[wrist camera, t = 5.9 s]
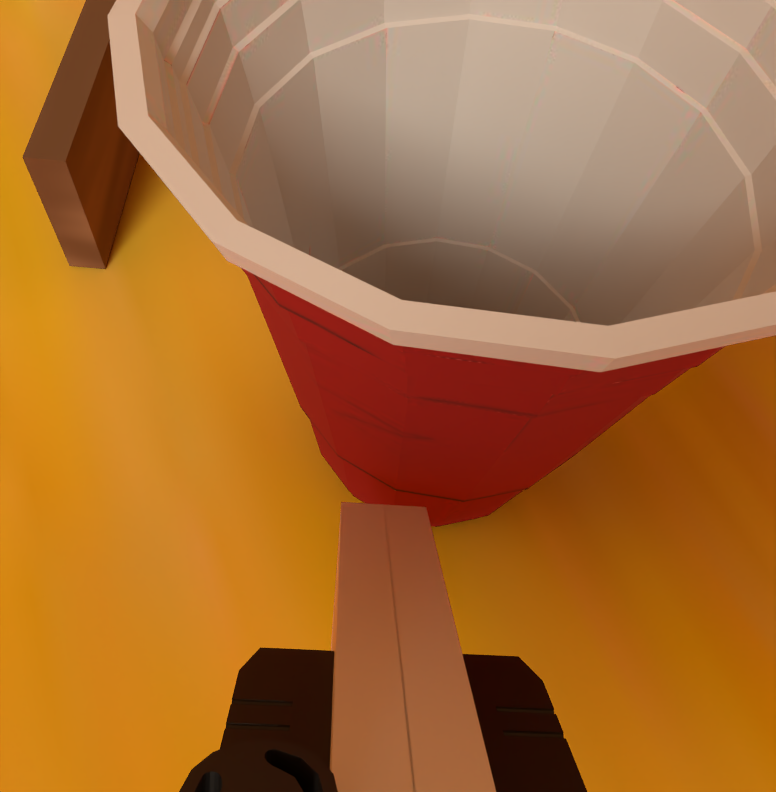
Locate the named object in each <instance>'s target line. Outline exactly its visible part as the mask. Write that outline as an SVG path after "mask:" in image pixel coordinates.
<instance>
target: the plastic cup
mask: <svg viewBox="0 0 776 792" xmlns="http://www.w3.org/2000/svg"><path fill="white" fill-rule="evenodd" d="M108 27H109V37H110V47H111V58H112V68H113V78H114V89H115V99H116V110H117V120H118V127H119V128H120V129H121V130H122V131H123V133H124V134H125V135H126V136H127V138H128V139H129V140H130V141H131V143H132V144H133V145H134V146H135V148H136V149H137V150H138V151H139V152H140V154H141V155H142V156H143V157H144V159H145V160H146V161H147V162H148V164H149V165H150V166H151V167H152V168H153V170H154V171H155V172H156V173H157V175H158V176H159V177H160V178H161V180H162V181H163V182H164V183H165V185H166V186H167V187H168V188H169V189H170V191H171V192H172V193H173V194H174V196H175V197H176V198H177V199H178V201H179V202H180V203H181V204H182V206H183V207H184V208H185V209H186V210H187V212H188V213H189V214H190V215H191V217H192V218H193V219H194V220H195V222H196V223H197V224H198V225H199V226H200V228H201V229H202V230H203V231H204V233H205V234H206V235H207V236H208V238H209V239H210V240H211V241H212V243H213V244H214V245H215V246H216V247H217V249H218V250H219V251H220V252H221V254H222V255H223V256H224V257H225V259H226V260H227V261H229V262H231V263H233V264H235V265H237V266H239V267H241V268H242V270H243V271H244V272H245V273H246V275H247V276H248V278H249V281H250V283H251V286H252V288H253V291H254V293H255V295H256V298H257V300H258V303H259V305H260V308H261V310H262V313H263V315H264V318H265V320H266V323H267V325H268V328H269V330H270V332H271V335H272V337H273V340H274V342H275V345H276V347H277V350H278V352H279V355H280V357H281V360H282V362H283V365H284V367H285V369H286V372H287V374H288V377H289V379H290V382H291V384H292V387H293V389H294V392H295V394H296V397H297V399H298V401H299V404H300V406H301V408H302V410H303V411H304V412H305V414H306V415H307V416H308V417H309V419H310V421H311V424H312V427H313V430H314V433H315V436H316V439H317V442H318V445H319V448H320V451H321V454H322V456H323V457H324V458H325V460H326V461H327V462H328V464H329V465H330V466H331V468H332V469H333V470H334V472H335V473H336V474H337V476H338V477H339V478H340V480H341V481H342V482H343V484H344V485H345V486H346V488H347V489H348V490H349V491H350V492H351V493H352V494H353V496H354V497H356V498H358V499H359V500H361V501H363V502H364V503H366V504H383V505H399V506H417V507H426V509H427V513H428V517H429V521H430V525H431V526H435V527H437V526H442V525H447V524H452V523H457V522H461V521H466V520H471V519H476V518H479V517H483V516H488V515H489V514H491V513H492V512H494V511H495V510H496V509H498V508H499V507H501V506H502V505H503V504H505V503H506V502H508V501H509V500H510V499H512V498H513V497H515V496H516V495H517V494H519V493H520V492H522V491H523V490H526V489H528V488H529V487H531V486H532V485H534V484H535V483H536V482H538V481H539V480H541V479H542V478H543V477H545V476H546V475H548V474H549V473H550V472H552V471H553V470H555V469H556V468H557V467H559V466H560V465H562V464H563V463H564V462H566V461H567V460H569V459H570V458H571V457H573V456H574V455H575V454H577V453H578V452H579V451H581V450H582V449H583V448H584V447H586V446H587V445H588V444H589V443H591V442H592V441H593V440H594V439H596V438H597V437H598V436H600V435H601V434H602V433H603V432H605V431H606V430H607V429H608V428H610V427H611V426H612V425H613V424H615V423H616V422H617V421H619V420H620V419H621V418H622V417H624V416H625V415H626V414H627V413H629V412H630V411H631V410H632V409H634V408H635V407H636V406H638V405H639V404H640V403H641V402H643V401H644V400H645V399H646V398H648V397H649V396H650V395H653V394H655V393H657V392H658V391H660V390H661V389H662V388H664V387H665V386H666V385H668V384H669V383H671V382H672V381H673V380H675V379H676V378H678V377H679V376H680V375H682V374H683V373H684V372H686V371H687V370H689V369H690V368H692V367H697V366H699V365H700V364H701V363H703V362H704V361H706V360H707V359H708V358H710V357H711V356H712V355H714V354H715V353H717V352H718V351H719V350H721V349H722V348H723V347H725V346H727V345H732V344H737V343H742V342H746V341H751V340H756V339H761V338H765V337H770V336H775V335H776V0H116V2H115V3H114V5H113V7H112V9H111V10H110V12H109V14H108Z"/></svg>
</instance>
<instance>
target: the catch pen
mask: <svg viewBox="0 0 776 792" xmlns="http://www.w3.org/2000/svg"><path fill="white" fill-rule="evenodd" d="M115 2H116V0H86V2H85V4H84V7H83V9H82V12H81V14H80V17H79V19H78V21H77V24H76V26H75V29H74V31H73V34H72V36H71V39H70V41H69V44H68V46H67V49H66V51H65V54H64V56H63V59H62V61H61V63H60V66H59V68H58V71H57V73H56V76H55V78H54V81H53V83H52V86H51V88H50V91H49V93H48V96H47V98H46V101H45V103H44V105H43V108H42V110H41V113H40V115H39V118H38V120H37V123H36V125H35V128H34V130H33V133H32V135H31V138H30V140H29V143H28V145H27V147H26V150H25V152H24V155H23V159H24V162H25V164H26V166H27V169H28V171H29V173H30V175H31V178H32V180H33V182H34V185H35V187H36V189H37V192H38V194H39V196H40V198H41V201H42V203H43V205H44V208H45V210H46V212H47V215H48V217H49V219H50V221H51V224H52V226H53V228H54V231H55V233H56V235H57V238H58V240H59V242H60V245H61V247H62V249H63V251H64V254H65V256H66V258H67V261H68V263H69V265H70V266H78V267H90V268H101V269H105V268H106V265H107V262H108V258H109V255H110V251H111V248H112V244H113V241H114V238H115V234H116V231H117V227H118V224H119V221H120V217H121V214H122V210H123V207H124V203H125V200H126V197H127V193H128V190H129V186H130V183H131V180H132V176H133V173H134V169H135V166H136V162H137V159H138V156H139V151H138V150H137V149H136V148H135V146H134V145H133V144H132V143H131V141H130V140H129V139H128V138H127V136H126V135H125V134H124V133H123V131H122V130H121V129H120V128H119V127H118V120H117V110H116V99H115V89H114V78H113V68H112V58H111V47H110V37H109V27H108V14H109V12H110V10H111V9H112V7H113V5H114V3H115Z"/></svg>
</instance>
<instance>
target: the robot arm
mask: <svg viewBox="0 0 776 792" xmlns="http://www.w3.org/2000/svg"><path fill="white" fill-rule="evenodd" d="M179 792H587V790H586V788H585V785H584V783H583V780H582V778H581V775H580V773H579V770H578V768H577V765H576V763H575V760H574V758H573V755H572V753H571V750H570V748H569V745H568V743H567V740H566V739H564V738H563V730H562V728H561V725H560V723H559V720H558V718H557V715H556V714H554V708H553V705H552V703H551V700H550V698H549V695H548V693H547V690H546V688H545V685H544V683H543V681H542V680H541V679H540V678H539V677H538V676H537V675H536V674H535V673H534V672H533V671H532V670H531V669H530V668H529V667H528V666H527V665H526V664H525V663H524V662H523V661H522V660H521V659H520V658H519V657H516V656H494V655H472V654H462V651H461V647H460V643H459V639H458V635H457V631H456V626H455V622H454V618H453V614H452V610H451V606H450V602H449V598H448V594H447V590H446V586H445V582H444V578H443V574H442V570H441V566H440V561H439V557H438V553H437V549H436V545H435V541H434V537H433V533H432V529H431V525H430V521H429V517H428V513H427V509H426V507H417V506H399V505H383V504H365V503H348V502H341V515H340V529H339V543H338V557H337V571H336V585H335V599H334V613H333V627H332V642H331V651H323V650H301V649H279V648H260V649H259V650H258V651H257V652H256V653H255V654H254V655H253V656H252V657H251V658H250V659H249V660H248V661H247V663H246V664H245V665H244V666H243V667H242V668H241V669H240V670H239V673H238V677H237V681H236V685H235V689H234V693H233V697H232V704H231V706H230V710H229V714H228V718H227V722H226V729H225V730H224V734H223V738H222V743H221V747H220V750H217V751H215V752H213V753H211V754H210V755H209V756H208V757H206V758H205V759H204V760H203V761H202V762H200V763H199V764H198V765H197V766H195V767H194V768H193V769H192V770H191V772H190V773H189V775H188V777H187V779H186V780H185V782H184V784H183V786H182V788H181V789H180V791H179Z"/></svg>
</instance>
